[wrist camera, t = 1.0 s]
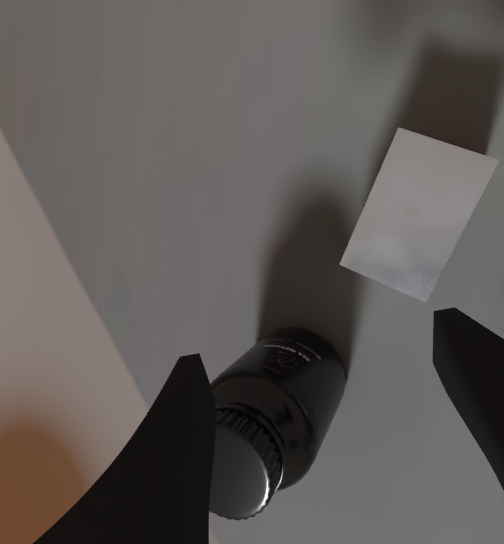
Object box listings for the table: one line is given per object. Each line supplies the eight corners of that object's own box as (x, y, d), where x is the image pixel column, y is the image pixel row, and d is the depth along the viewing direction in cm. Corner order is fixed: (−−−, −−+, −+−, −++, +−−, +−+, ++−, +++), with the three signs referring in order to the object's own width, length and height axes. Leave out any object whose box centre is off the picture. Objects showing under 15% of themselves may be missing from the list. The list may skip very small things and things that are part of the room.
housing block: (482, 167, 24) (499, 160, 18) (425, 279, 26) (426, 302, 20) (404, 141, 25) (398, 127, 19) (356, 250, 27) (339, 264, 22)
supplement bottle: (321, 310, 28) (256, 384, 18) (363, 402, 28) (325, 533, 18) (237, 341, 31) (137, 422, 20) (276, 425, 31) (196, 551, 20)
